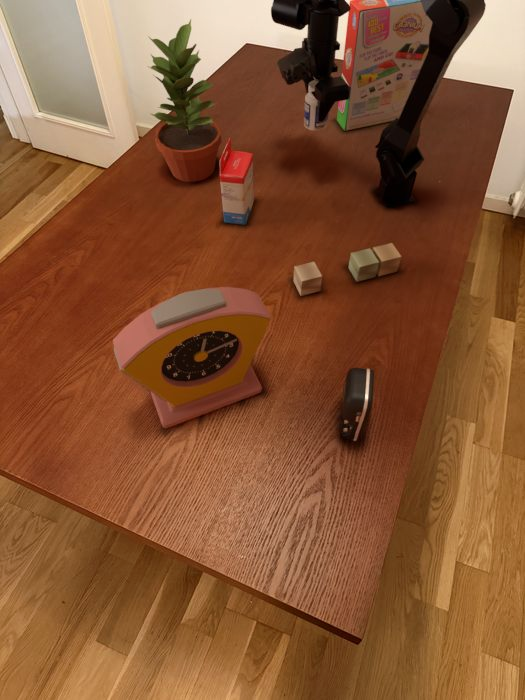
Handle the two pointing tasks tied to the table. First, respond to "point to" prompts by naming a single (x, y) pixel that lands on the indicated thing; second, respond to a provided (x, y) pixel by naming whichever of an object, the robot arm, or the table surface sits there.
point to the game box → (381, 59)
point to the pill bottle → (313, 111)
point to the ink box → (236, 185)
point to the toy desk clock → (195, 351)
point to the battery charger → (356, 402)
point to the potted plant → (185, 113)
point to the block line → (351, 267)
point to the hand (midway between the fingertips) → (316, 114)
